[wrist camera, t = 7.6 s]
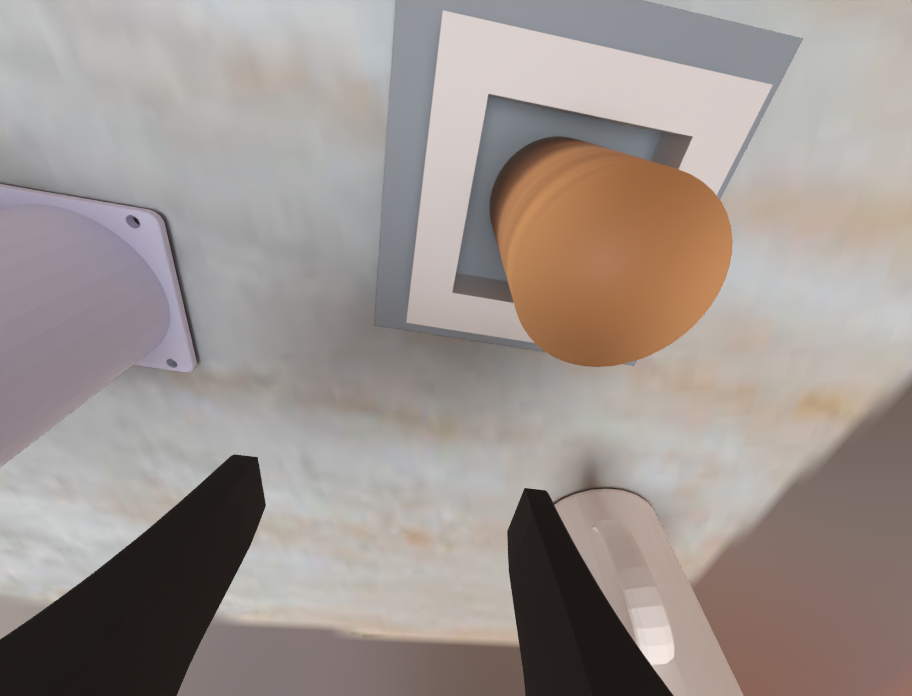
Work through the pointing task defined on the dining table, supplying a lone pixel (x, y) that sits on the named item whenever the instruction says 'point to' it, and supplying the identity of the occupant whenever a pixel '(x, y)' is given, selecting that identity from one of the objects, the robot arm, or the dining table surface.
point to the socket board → (543, 128)
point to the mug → (648, 589)
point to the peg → (606, 249)
